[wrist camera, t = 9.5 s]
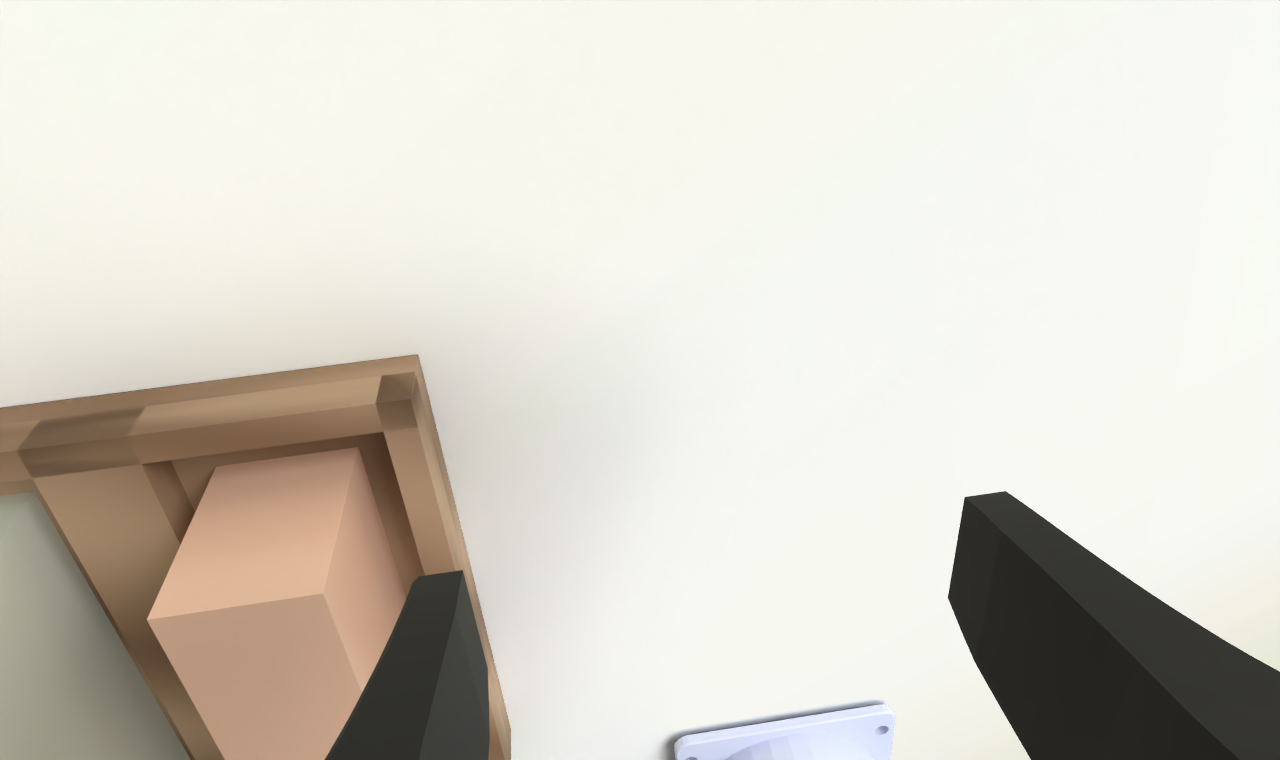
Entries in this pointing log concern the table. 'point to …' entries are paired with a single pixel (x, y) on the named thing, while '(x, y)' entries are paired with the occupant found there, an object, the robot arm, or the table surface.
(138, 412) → the rack
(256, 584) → the peach rectangular block
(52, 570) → the grey-green block
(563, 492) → the table surface
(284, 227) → the table surface
